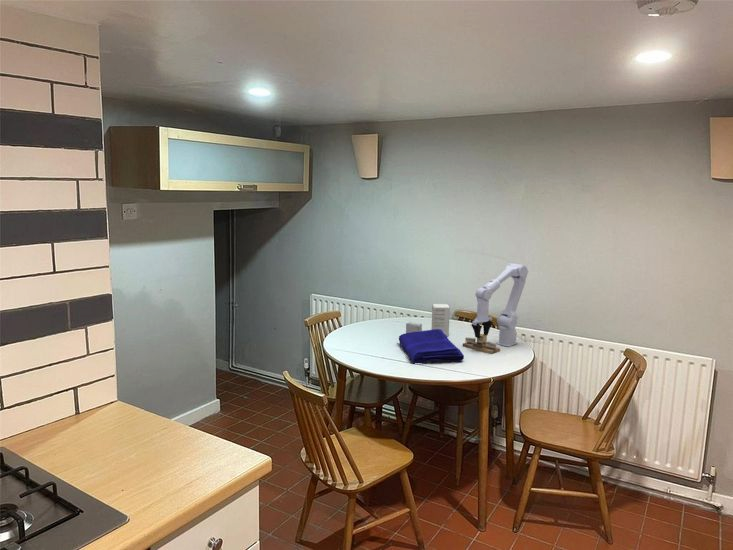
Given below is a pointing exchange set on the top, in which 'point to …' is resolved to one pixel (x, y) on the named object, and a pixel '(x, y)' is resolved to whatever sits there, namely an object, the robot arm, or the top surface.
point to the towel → (430, 347)
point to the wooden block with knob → (482, 340)
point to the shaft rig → (489, 347)
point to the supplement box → (441, 317)
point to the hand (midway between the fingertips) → (481, 336)
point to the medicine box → (413, 327)
